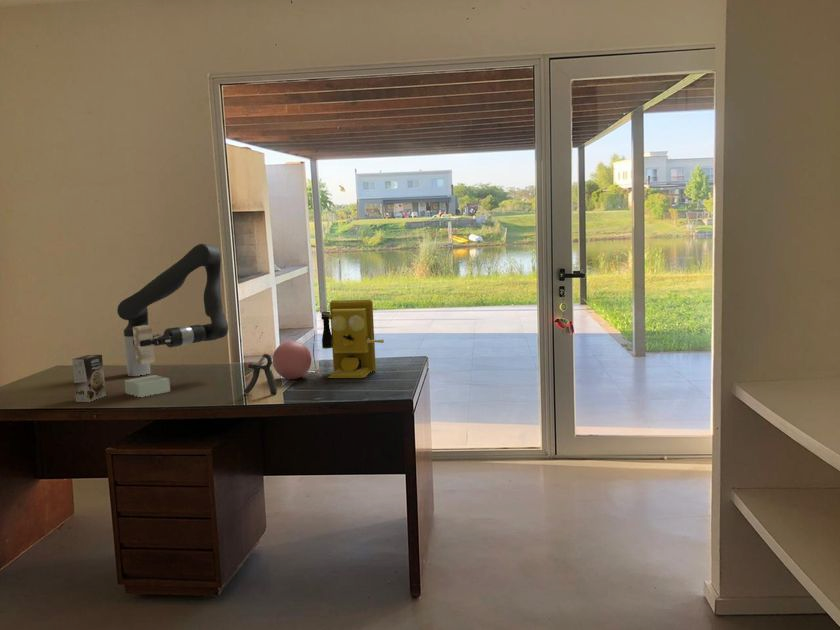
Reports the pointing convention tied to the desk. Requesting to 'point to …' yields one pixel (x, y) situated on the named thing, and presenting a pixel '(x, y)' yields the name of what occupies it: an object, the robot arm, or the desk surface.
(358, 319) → the vintage telephone
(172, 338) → the robot arm
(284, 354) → the balloon
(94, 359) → the coffee box
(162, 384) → the base block
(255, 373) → the hand grip strengthener
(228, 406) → the desk surface
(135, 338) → the ash pillar
